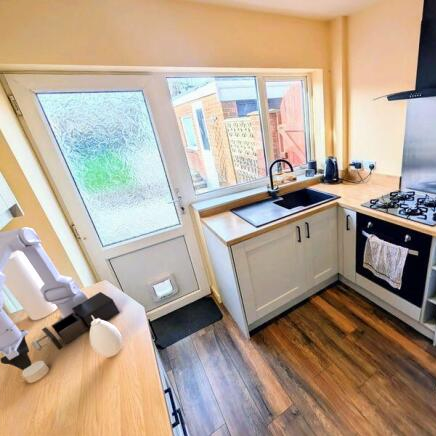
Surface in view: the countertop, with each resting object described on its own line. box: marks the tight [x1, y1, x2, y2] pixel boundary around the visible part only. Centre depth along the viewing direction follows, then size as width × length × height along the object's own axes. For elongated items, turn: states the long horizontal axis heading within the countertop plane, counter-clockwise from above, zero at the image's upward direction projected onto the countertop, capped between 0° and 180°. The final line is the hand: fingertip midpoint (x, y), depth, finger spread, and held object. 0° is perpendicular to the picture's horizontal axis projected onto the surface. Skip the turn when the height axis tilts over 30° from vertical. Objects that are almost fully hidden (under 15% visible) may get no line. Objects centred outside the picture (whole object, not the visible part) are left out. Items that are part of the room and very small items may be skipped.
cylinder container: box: [2, 251, 58, 321], centre depth 103 cm, size 9×9×30 cm
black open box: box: [30, 313, 89, 352], centre depth 92 cm, size 14×9×6 cm
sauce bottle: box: [89, 316, 123, 358], centre depth 82 cm, size 8×8×18 cm
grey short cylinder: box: [21, 360, 50, 384], centre depth 81 cm, size 5×5×3 cm
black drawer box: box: [72, 291, 120, 331], centre depth 101 cm, size 11×11×8 cm
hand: (26, 360), depth 78 cm, fingers open, 7 cm apart
